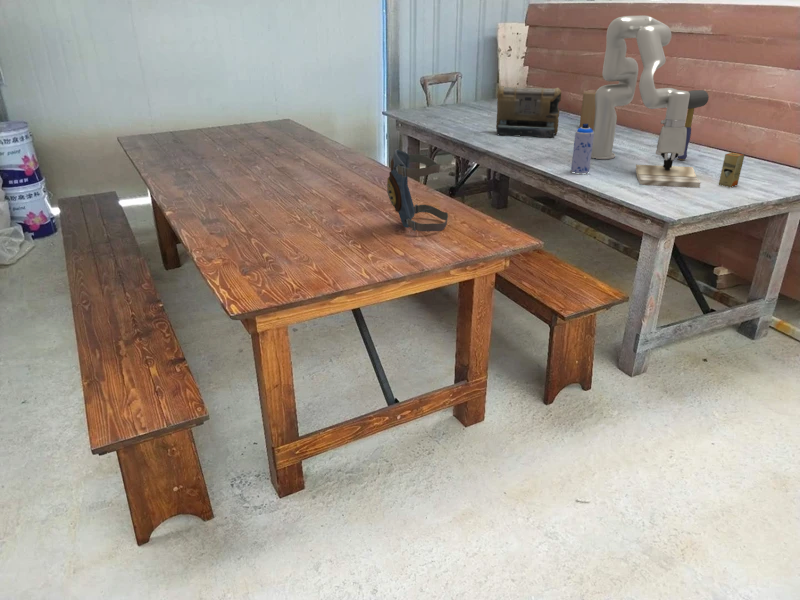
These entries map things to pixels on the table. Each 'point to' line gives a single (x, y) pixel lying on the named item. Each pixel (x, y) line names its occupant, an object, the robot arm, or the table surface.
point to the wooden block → (588, 109)
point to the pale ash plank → (665, 171)
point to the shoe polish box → (731, 169)
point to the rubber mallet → (695, 101)
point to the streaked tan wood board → (669, 180)
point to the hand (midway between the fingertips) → (667, 169)
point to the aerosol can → (582, 149)
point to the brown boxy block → (528, 111)
